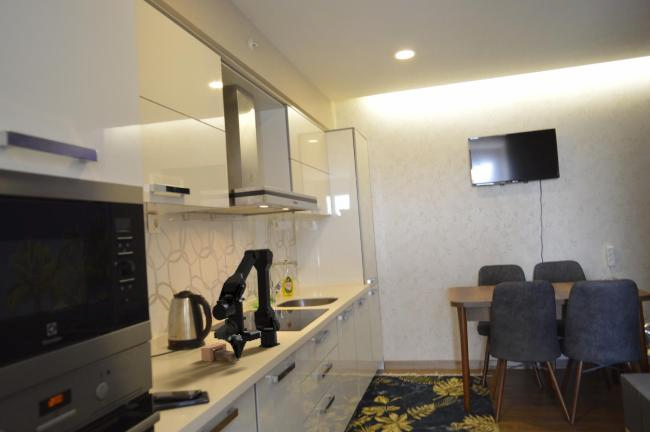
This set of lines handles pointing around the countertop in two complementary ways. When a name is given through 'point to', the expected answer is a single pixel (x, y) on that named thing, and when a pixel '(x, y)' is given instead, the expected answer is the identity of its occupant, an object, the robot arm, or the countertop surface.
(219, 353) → the tan long bar
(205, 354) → the pink bridge block
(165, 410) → the countertop surface
